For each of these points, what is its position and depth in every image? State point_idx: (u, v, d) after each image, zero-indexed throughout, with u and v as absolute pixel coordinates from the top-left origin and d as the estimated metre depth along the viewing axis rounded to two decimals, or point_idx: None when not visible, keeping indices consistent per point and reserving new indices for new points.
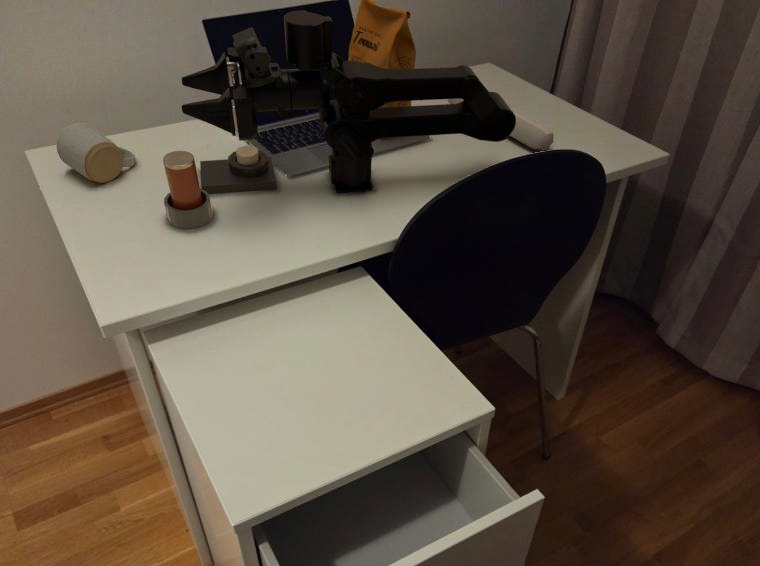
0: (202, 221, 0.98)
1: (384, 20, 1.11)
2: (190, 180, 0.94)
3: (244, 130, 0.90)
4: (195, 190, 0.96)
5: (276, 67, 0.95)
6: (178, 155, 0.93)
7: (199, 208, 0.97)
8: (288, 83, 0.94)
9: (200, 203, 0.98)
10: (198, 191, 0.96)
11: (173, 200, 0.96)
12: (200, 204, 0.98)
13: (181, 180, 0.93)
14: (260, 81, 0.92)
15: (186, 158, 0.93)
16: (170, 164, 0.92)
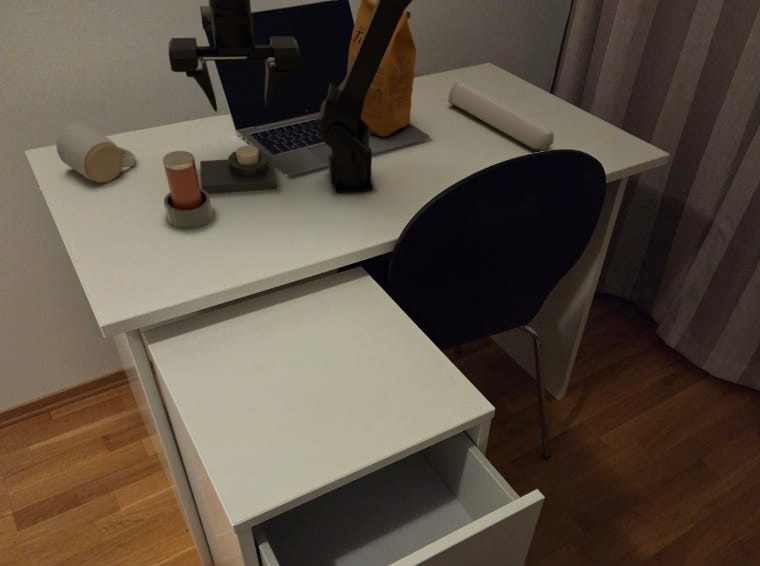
0: (202, 221, 0.98)
1: None
2: (190, 180, 0.94)
3: None
4: (195, 190, 0.96)
5: None
6: (178, 155, 0.93)
7: (199, 208, 0.97)
8: None
9: (200, 203, 0.98)
10: (198, 191, 0.96)
11: (173, 200, 0.96)
12: (200, 204, 0.98)
13: (181, 180, 0.93)
14: None
15: (186, 158, 0.93)
16: (170, 164, 0.92)
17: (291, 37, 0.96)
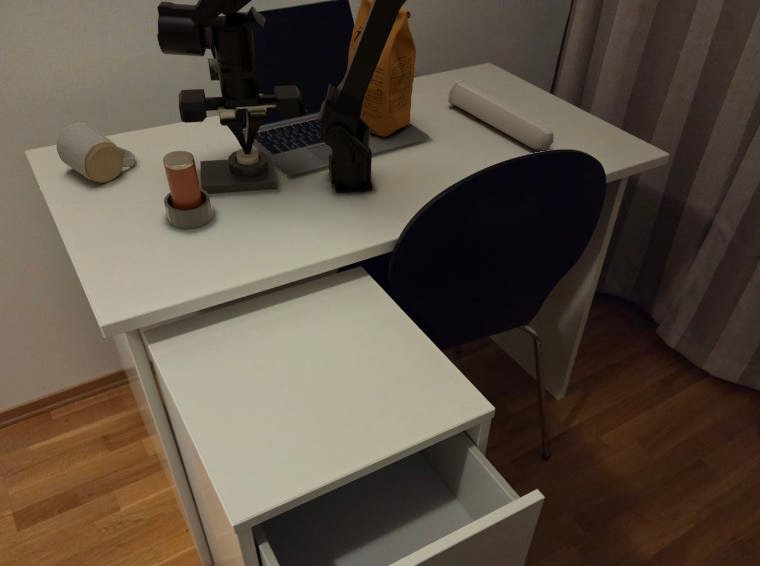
0: (202, 221, 0.98)
1: None
2: (190, 180, 0.94)
3: None
4: (195, 190, 0.96)
5: None
6: (178, 155, 0.93)
7: (199, 208, 0.97)
8: None
9: (200, 203, 0.98)
10: (198, 191, 0.96)
11: (173, 200, 0.96)
12: (200, 204, 0.98)
13: (181, 180, 0.93)
14: None
15: (186, 158, 0.93)
16: (170, 164, 0.92)
17: (294, 86, 1.02)
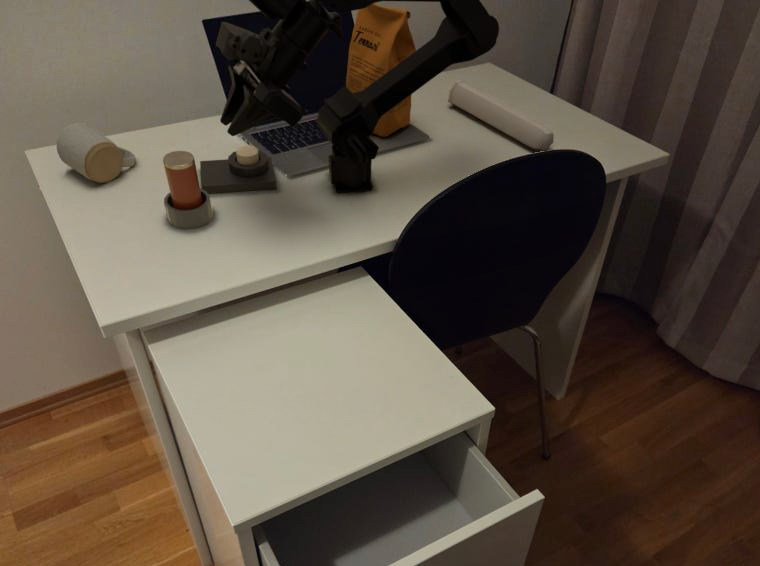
0: (202, 221, 0.98)
1: (384, 20, 1.11)
2: (190, 180, 0.94)
3: (290, 117, 0.87)
4: (195, 190, 0.96)
5: (267, 32, 0.88)
6: (178, 155, 0.93)
7: (199, 208, 0.97)
8: (287, 38, 0.87)
9: (200, 203, 0.98)
10: (198, 191, 0.96)
11: (173, 200, 0.96)
12: (200, 204, 0.98)
13: (181, 180, 0.93)
14: (267, 61, 0.87)
15: (186, 158, 0.93)
16: (170, 164, 0.92)
17: None
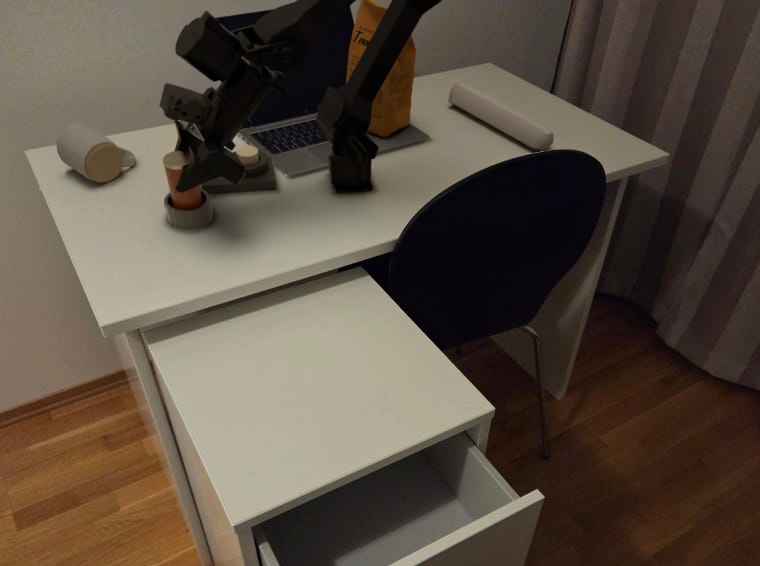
0: (202, 221, 0.98)
1: None
2: None
3: (233, 176, 0.89)
4: (195, 190, 0.96)
5: (211, 92, 0.90)
6: (178, 155, 0.93)
7: (199, 208, 0.97)
8: (230, 98, 0.88)
9: (200, 203, 0.98)
10: (198, 191, 0.96)
11: (173, 200, 0.96)
12: (200, 204, 0.98)
13: None
14: (210, 121, 0.88)
15: (186, 158, 0.93)
16: (170, 164, 0.92)
17: None
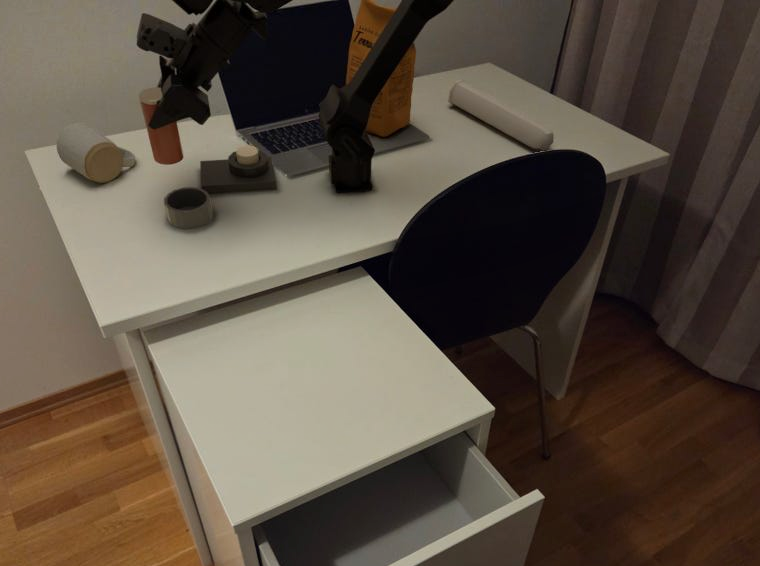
0: (202, 221, 0.98)
1: (384, 20, 1.11)
2: None
3: (196, 114, 0.86)
4: (170, 130, 0.94)
5: (190, 28, 0.87)
6: (156, 91, 0.92)
7: (199, 208, 0.97)
8: (205, 35, 0.86)
9: (176, 144, 0.96)
10: (174, 131, 0.94)
11: (149, 137, 0.95)
12: (176, 145, 0.96)
13: None
14: (182, 56, 0.86)
15: None
16: (144, 98, 0.90)
17: None
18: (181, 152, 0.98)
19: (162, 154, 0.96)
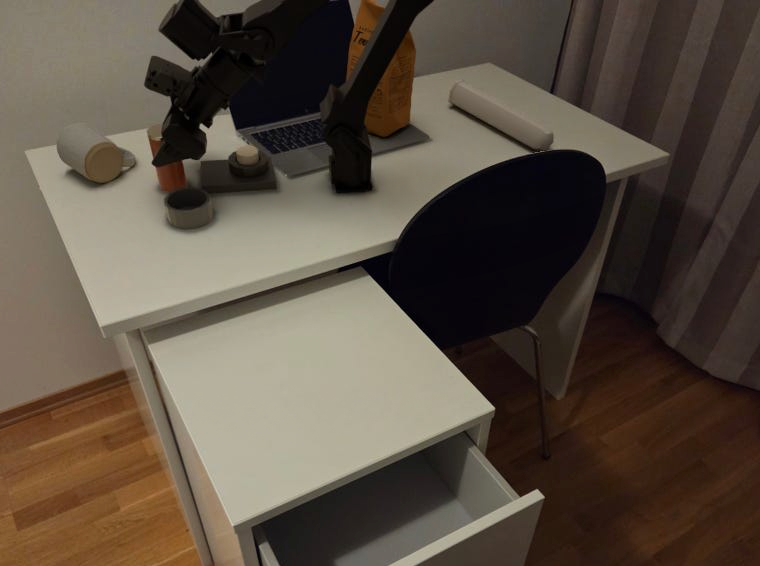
0: (202, 221, 0.98)
1: None
2: None
3: (191, 150, 0.92)
4: (174, 163, 1.01)
5: (195, 70, 0.94)
6: None
7: (199, 208, 0.97)
8: (206, 78, 0.92)
9: (180, 176, 1.03)
10: (178, 164, 1.02)
11: None
12: (180, 177, 1.03)
13: None
14: (185, 96, 0.93)
15: None
16: (150, 134, 0.98)
17: None
18: (185, 183, 1.05)
19: (166, 184, 1.03)
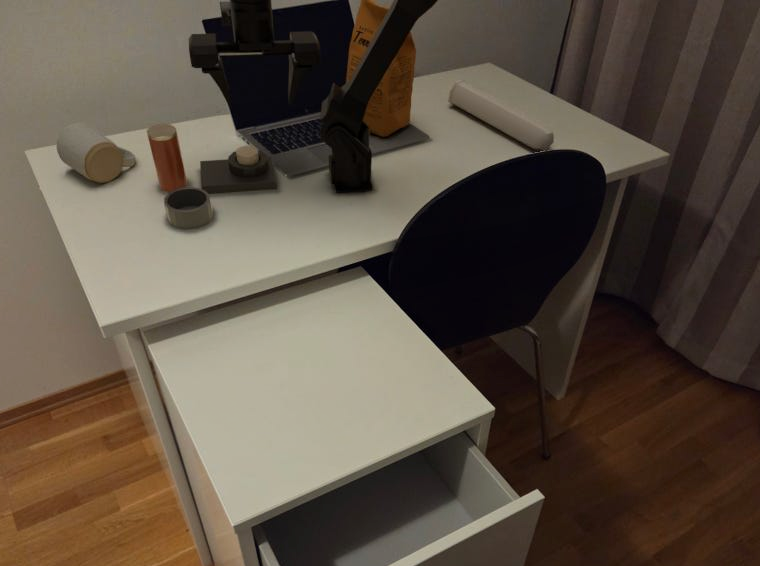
0: (202, 221, 0.98)
1: None
2: (168, 152, 1.00)
3: None
4: (174, 163, 1.01)
5: None
6: (163, 127, 0.99)
7: (199, 208, 0.97)
8: None
9: (180, 176, 1.03)
10: (178, 164, 1.02)
11: None
12: (180, 177, 1.03)
13: (159, 151, 0.99)
14: None
15: (168, 131, 0.99)
16: (150, 134, 0.98)
17: (311, 32, 0.96)
18: (185, 183, 1.05)
19: (166, 184, 1.03)
